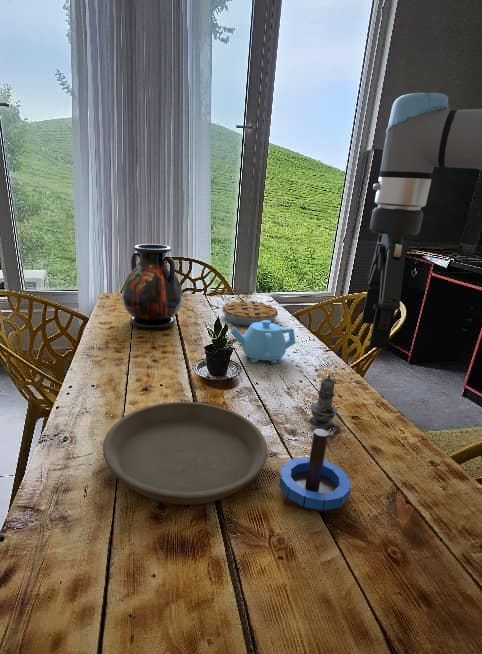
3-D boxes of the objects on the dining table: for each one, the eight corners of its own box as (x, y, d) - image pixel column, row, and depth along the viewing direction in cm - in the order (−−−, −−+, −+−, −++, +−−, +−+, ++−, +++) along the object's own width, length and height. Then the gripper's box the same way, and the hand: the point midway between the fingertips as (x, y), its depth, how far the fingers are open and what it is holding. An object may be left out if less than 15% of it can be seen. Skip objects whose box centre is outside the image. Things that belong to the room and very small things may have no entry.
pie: (217, 310, 183) (218, 298, 181) (269, 310, 185) (270, 299, 184) (226, 327, 163) (227, 314, 161) (284, 327, 165) (285, 314, 163)
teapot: (288, 348, 145) (292, 314, 140) (298, 369, 129) (303, 331, 125) (227, 346, 145) (229, 311, 140) (229, 366, 129) (232, 328, 125)
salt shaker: (314, 413, 106) (321, 367, 101) (338, 421, 102) (346, 374, 98) (304, 423, 101) (311, 375, 97) (328, 432, 98) (337, 383, 93)
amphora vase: (110, 324, 160) (107, 245, 149) (149, 312, 177) (149, 240, 166) (156, 338, 149) (156, 254, 138) (193, 323, 165) (196, 247, 155)
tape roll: (346, 472, 82) (348, 463, 81) (350, 515, 72) (352, 506, 71) (282, 461, 85) (283, 452, 84) (277, 501, 74) (278, 492, 73)
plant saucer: (240, 539, 68) (242, 515, 66) (69, 486, 77) (67, 464, 76) (279, 437, 95) (281, 418, 93) (149, 407, 105) (149, 390, 103)
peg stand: (336, 482, 82) (347, 423, 77) (338, 515, 74) (351, 451, 69) (286, 473, 84) (295, 415, 79) (283, 504, 76) (292, 442, 71)
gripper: (365, 202, 82) (346, 312, 90) (384, 210, 59) (356, 357, 67) (409, 204, 80) (385, 316, 88) (444, 214, 58) (409, 363, 66)
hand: (373, 334), depth 78 cm, fingers open, 13 cm apart
